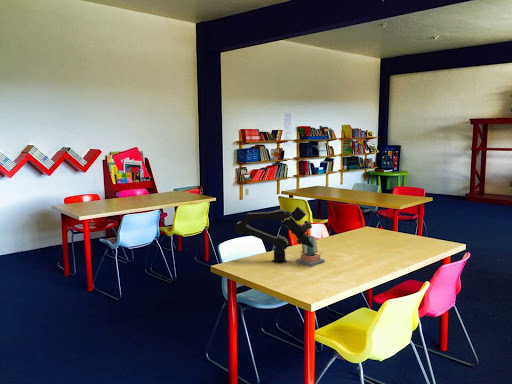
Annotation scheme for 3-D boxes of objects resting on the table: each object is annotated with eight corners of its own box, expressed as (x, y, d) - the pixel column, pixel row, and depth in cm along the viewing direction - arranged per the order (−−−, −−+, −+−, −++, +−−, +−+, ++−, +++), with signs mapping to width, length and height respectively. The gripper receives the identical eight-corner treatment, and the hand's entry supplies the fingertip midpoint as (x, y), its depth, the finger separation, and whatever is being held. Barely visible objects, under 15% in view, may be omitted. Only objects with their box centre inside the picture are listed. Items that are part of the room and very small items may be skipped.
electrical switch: (305, 254, 270) (304, 239, 270) (300, 253, 275) (299, 238, 274) (317, 252, 274) (317, 237, 274) (313, 251, 279) (312, 236, 278)
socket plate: (311, 266, 245) (311, 258, 245) (296, 262, 253) (296, 254, 253) (324, 261, 254) (324, 254, 253) (309, 258, 261) (309, 250, 261)
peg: (308, 258, 251) (308, 237, 249) (306, 256, 255) (306, 236, 253) (314, 258, 251) (315, 237, 250) (312, 256, 255) (312, 235, 254)
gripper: (303, 220, 241) (323, 240, 241) (304, 214, 260) (322, 233, 260) (288, 234, 243) (308, 254, 243) (290, 227, 262) (309, 245, 262)
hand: (312, 246), depth 252 cm, fingers closed on peg, 4 cm apart
